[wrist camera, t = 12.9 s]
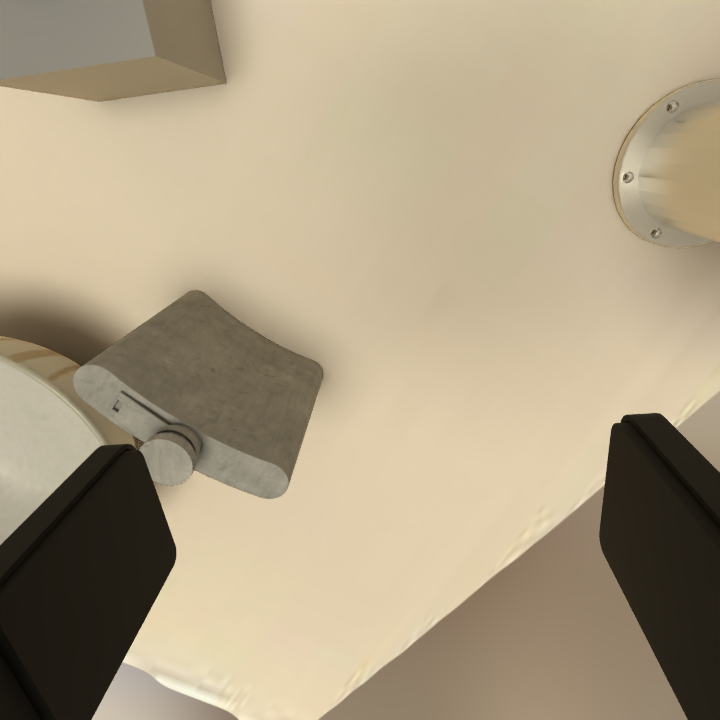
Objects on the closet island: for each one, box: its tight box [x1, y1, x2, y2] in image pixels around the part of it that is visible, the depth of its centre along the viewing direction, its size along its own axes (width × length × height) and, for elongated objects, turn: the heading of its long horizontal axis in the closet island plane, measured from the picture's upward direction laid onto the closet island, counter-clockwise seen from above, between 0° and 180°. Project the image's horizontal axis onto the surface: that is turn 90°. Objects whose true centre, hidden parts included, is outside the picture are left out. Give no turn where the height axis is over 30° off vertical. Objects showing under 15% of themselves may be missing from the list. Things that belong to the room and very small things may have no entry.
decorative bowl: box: [0, 336, 136, 545], centre depth 48 cm, size 27×27×12 cm
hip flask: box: [73, 291, 323, 499], centre depth 39 cm, size 16×4×20 cm, turn 57°
